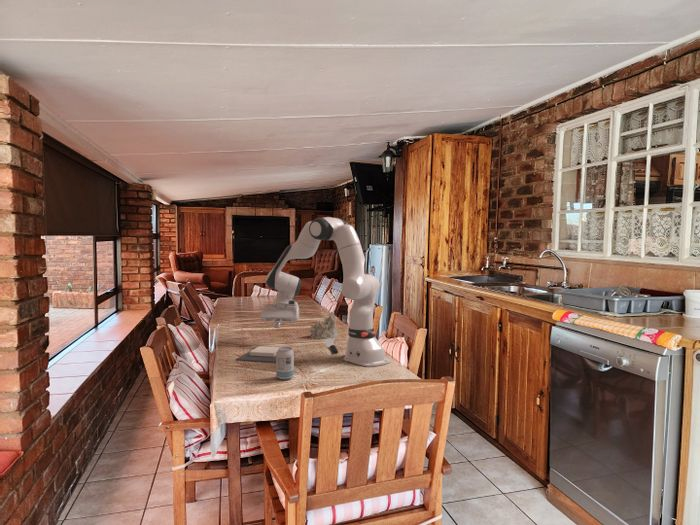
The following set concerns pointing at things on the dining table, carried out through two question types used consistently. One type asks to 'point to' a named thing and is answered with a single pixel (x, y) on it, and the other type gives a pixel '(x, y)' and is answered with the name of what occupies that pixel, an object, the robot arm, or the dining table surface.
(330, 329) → the jagged grey rock
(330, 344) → the kitchen cleaver
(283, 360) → the beverage can
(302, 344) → the dining table surface
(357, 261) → the robot arm
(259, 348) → the tile
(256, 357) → the mat
